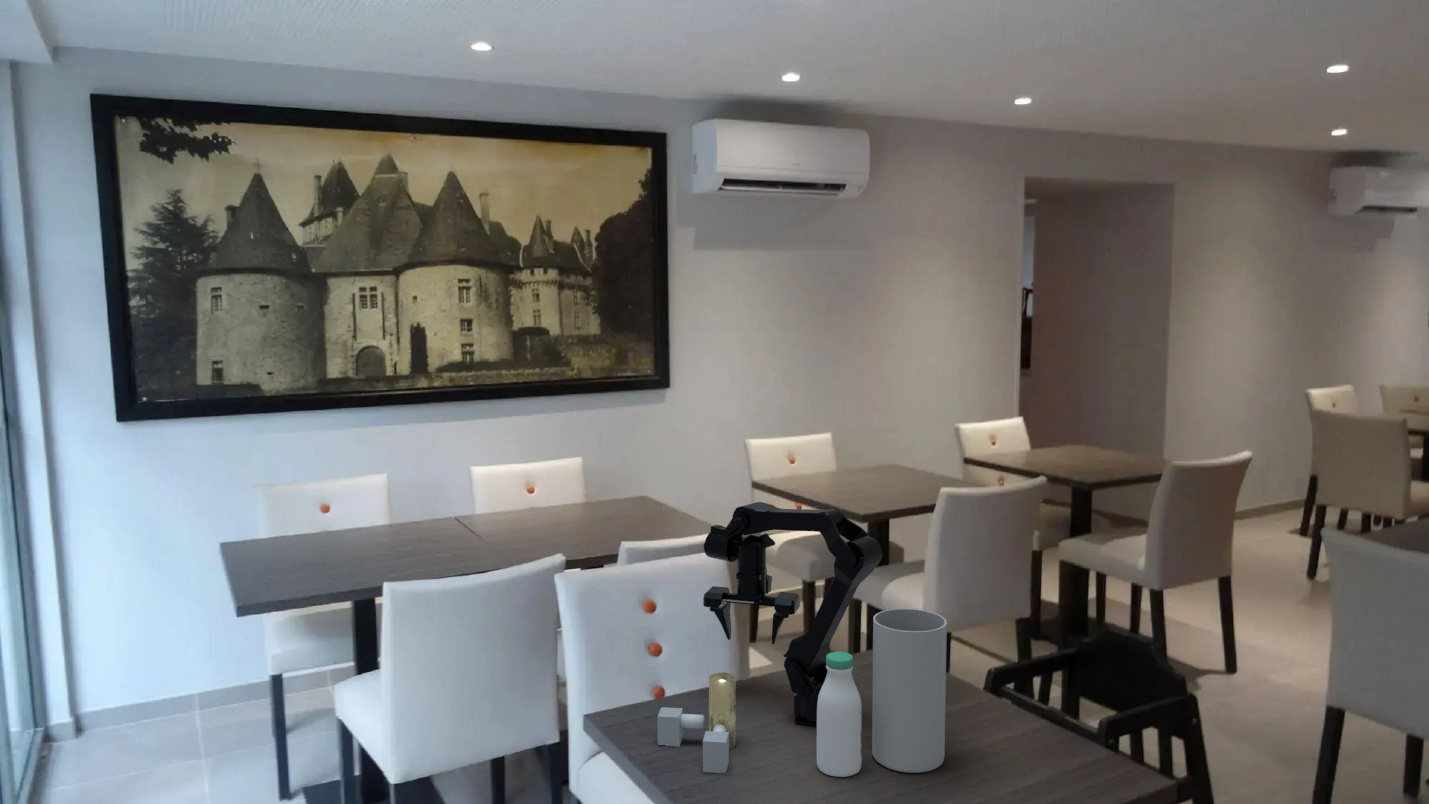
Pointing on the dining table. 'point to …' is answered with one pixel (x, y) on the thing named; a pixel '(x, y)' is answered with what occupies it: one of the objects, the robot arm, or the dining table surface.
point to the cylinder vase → (909, 689)
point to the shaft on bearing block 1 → (675, 725)
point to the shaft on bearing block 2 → (716, 750)
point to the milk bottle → (839, 719)
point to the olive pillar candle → (723, 703)
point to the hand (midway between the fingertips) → (751, 641)
